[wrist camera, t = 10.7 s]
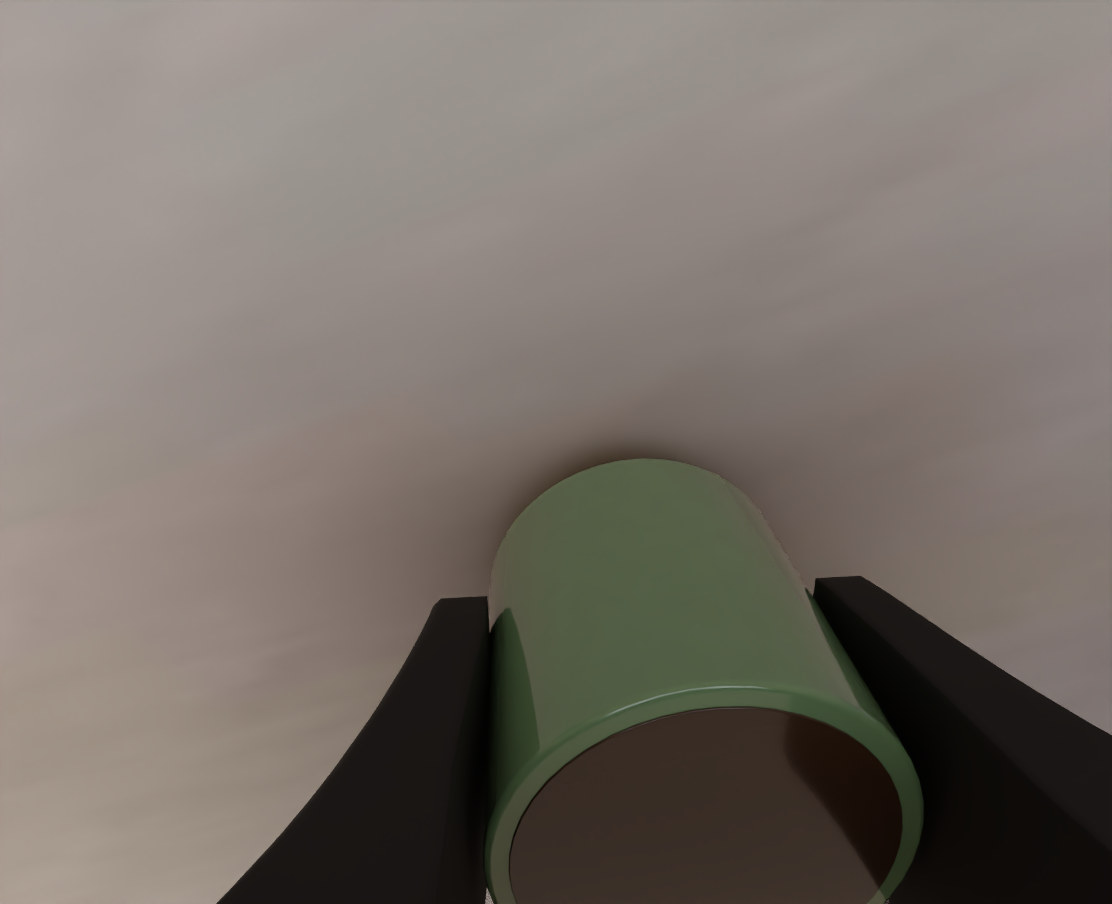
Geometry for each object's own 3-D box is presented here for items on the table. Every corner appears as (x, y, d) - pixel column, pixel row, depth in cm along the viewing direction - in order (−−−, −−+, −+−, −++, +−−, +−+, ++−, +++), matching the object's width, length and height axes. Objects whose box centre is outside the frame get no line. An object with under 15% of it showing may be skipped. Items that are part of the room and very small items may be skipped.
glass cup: (448, 506, 11) (415, 760, 7) (750, 418, 11) (908, 629, 7) (537, 726, 13) (555, 1032, 9) (797, 657, 13) (943, 940, 8)
